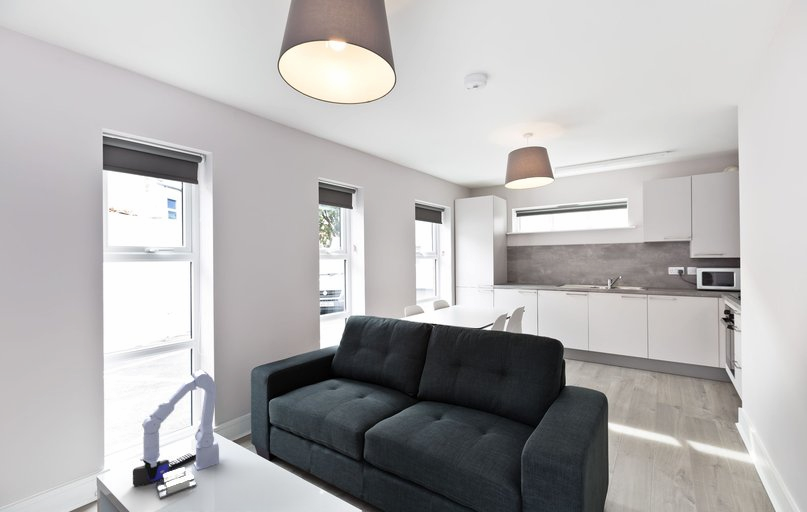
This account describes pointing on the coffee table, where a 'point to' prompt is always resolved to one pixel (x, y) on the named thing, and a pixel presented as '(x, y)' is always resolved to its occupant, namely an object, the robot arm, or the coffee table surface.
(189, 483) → the rail plate
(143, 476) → the leaning round-cornered charcoal block
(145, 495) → the coffee table surface
